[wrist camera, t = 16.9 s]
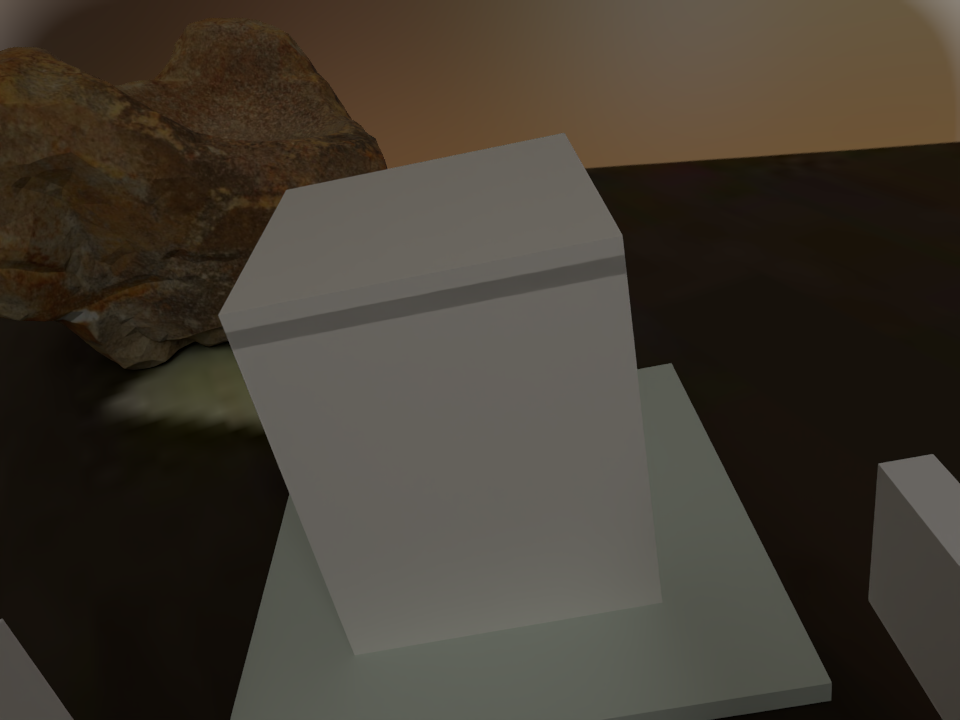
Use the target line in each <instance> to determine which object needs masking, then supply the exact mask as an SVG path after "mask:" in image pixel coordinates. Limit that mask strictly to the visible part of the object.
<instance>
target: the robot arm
mask: <svg viewBox="0 0 960 720" xmlns="http://www.w3.org/2000/svg"><path fill="white" fill-rule="evenodd" d="M868 600H869V602H870V604H871V605H872V607H873V608H874V610H875V612H876V613H877V615H878V616H879V618H880V620H881V621H882V623H883V624H884V626H885V628H886V629H887V631H888V633H889V634H890V636H891V637H892V639H893V641H894V642H895V644H896V645H897V647H898V649H899V650H900V652H901V653H902V655H903V657H904V658H905V660H906V662H907V663H908V665H909V666H910V668H911V670H912V671H913V673H914V674H915V676H916V678H917V679H918V681H919V682H920V684H921V686H922V687H923V689H924V690H925V692H926V694H927V695H928V697H929V699H930V700H931V702H932V703H933V705H934V707H935V708H936V710H937V711H938V713H939V715H940V716H941V718H942V719H943V720H960V483H959V482H958V481H957V480H956V479H955V478H954V477H953V476H952V475H951V474H950V472H949V471H948V470H947V469H946V468H945V467H944V466H943V465H942V464H941V463H940V461H939V460H938V459H937V458H936V457H935V456H934V455H933V454H931V455H925V456H920V457H914V458H908V459H903V460H897V461H891V462H886V463H880V464H878V475H877V488H876V502H875V516H874V529H873V543H872V557H871V570H870V584H869V598H868ZM0 720H73V718H72V717H71V715H70V714H69V713H68V711H67V710H66V708H65V707H64V706H63V704H62V703H61V701H60V700H59V698H58V697H57V696H56V694H55V693H54V691H53V690H52V688H51V687H50V686H49V684H48V683H47V681H46V680H45V678H44V677H43V676H42V674H41V673H40V671H39V670H38V669H37V667H36V666H35V664H34V663H33V661H32V660H31V659H30V657H29V656H28V654H27V653H26V651H25V650H24V649H23V647H22V646H21V644H20V643H19V641H18V640H17V639H16V637H15V636H14V634H13V633H12V632H11V630H10V629H9V627H8V626H7V624H6V623H5V622H4V620H3V619H0Z"/></svg>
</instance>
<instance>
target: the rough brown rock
mask: <svg viewBox="0 0 960 720" xmlns="http://www.w3.org/2000/svg"><path fill="white" fill-rule="evenodd" d="M386 169H387V166H386V163H385V159H384V157H383V154H382V152H381V150H380V148H379V146H378V144H377V141H376V139H375V138H374V137H372V136H370V135H369V134H368V133H366V132H365V130H364V129H363V128H362V126H361V125H359V124H358V123H357V122H355V121H354V120H352V119H351V117H350V116H349V115H348V113H347V111H346V110H345V108H344V106H343V105H342V103H341V102H340V100H339V99H338V98H337V96H336V95H335V93H334V91H333V90H332V88H331V87H330V85H329V84H328V82H327V81H326V80H325V79H324V78H323V77H322V76H321V75H319V74H318V73H317V71H316V69H315V68H314V66H313V65H312V63H311V62H310V60H309V58H308V57H307V56H306V55H305V54H304V52H303V51H302V50H301V49H300V48H299V46H298V45H297V43H296V42H295V41H294V40H293V39H292V38H291V36H290V35H289V34H287V33H285V32H284V31H282V30H281V29H279V28H277V27H274V26H272V25H269V24H266V23H263V22H260V21H257V20H253V19H246V18H208V19H205V20H201V21H198V22H194V23H191V24H189V25H188V26H187V28H186V29H185V30H184V32H183V34H182V35H181V37H180V38H179V39H178V40H177V42H176V43H175V46H174V50H173V53H172V57H171V59H170V60H169V62H168V63H167V65H166V66H165V68H164V69H163V70H162V72H161V73H160V74H159V75H158V76H157V77H156V78H155V79H154V80H144V81H135V82H130V83H127V84H124V85H121V86H113V85H112V84H110V83H109V82H107V81H104V80H102V79H100V78H97V77H95V76H93V75H90V74H88V73H86V72H83V71H81V70H80V69H78V68H75V67H73V66H70V65H69V64H66V63H64V62H62V61H61V60H60V59H59V58H57V57H56V56H54V55H53V54H52V53H50V52H49V51H47V50H45V49H42V48H31V47H13V48H8V49H5V50H2V51H0V317H1V318H7V319H13V320H18V321H52V320H54V321H57V322H60V323H62V324H63V325H64V326H66V327H67V328H68V329H70V330H71V331H73V332H74V333H75V334H76V335H78V336H79V337H80V338H81V339H83V340H84V341H85V342H86V343H88V344H89V345H90V346H91V347H93V348H94V349H95V350H96V351H98V352H99V353H101V354H102V355H104V356H105V357H107V358H109V359H110V360H112V361H114V362H116V363H118V364H119V365H121V366H122V367H123V368H124V369H129V370H137V369H145V368H150V367H154V366H157V365H159V364H161V363H164V362H166V361H167V360H168V359H169V358H170V357H171V356H172V355H173V354H174V353H175V352H176V351H177V350H179V349H180V348H182V347H184V346H186V345H188V344H190V343H192V342H195V341H196V342H198V343H200V344H202V345H205V346H208V347H210V346H214V345H218V344H220V343H222V342H226V341H228V339H227V336H226V334H225V331H224V329H223V326H222V324H221V321H220V319H219V316H218V315H219V313H220V311H221V309H222V307H223V305H224V303H225V302H226V300H227V298H228V296H229V294H230V292H231V291H232V289H233V287H234V285H235V283H236V281H237V280H238V278H239V276H240V274H241V272H242V270H243V269H244V267H245V265H246V263H247V261H248V259H249V258H250V256H251V254H252V252H253V250H254V248H255V246H256V245H257V243H258V241H259V239H260V237H261V235H262V234H263V232H264V230H265V228H266V226H267V224H268V223H269V221H270V219H271V217H272V215H273V213H274V212H275V210H276V208H277V206H278V204H279V202H280V201H281V199H282V197H283V195H284V193H285V191H286V190H289V189H294V188H298V187H303V186H308V185H313V184H318V183H323V182H328V181H333V180H337V179H342V178H347V177H352V176H357V175H362V174H367V173H371V172H376V171H381V170H386Z"/></svg>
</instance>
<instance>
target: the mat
mask: <svg viewBox="0 0 960 720" xmlns="http://www.w3.org/2000/svg"><path fill="white" fill-rule="evenodd" d="M637 374H638V383H639V392H640V401H641V410H642V420H643V429H644V438H645V447H646V456H647V465H648V475H649V484H650V493H651V502H652V511H653V520H654V530H655V539H656V548H657V557H658V566H659V575H660V585H661V594H662V603H657V604H651V605H645V606H639V607H634V608H628V609H622V610H616V611H610V612H604V613H599V614H593V615H587V616H581V617H575V618H569V619H564V620H558V621H552V622H546V623H540V624H534V625H528V626H523V627H517V628H511V629H505V630H499V631H493V632H488V633H482V634H476V635H470V636H464V637H458V638H453V639H447V640H441V641H435V642H429V643H423V644H418V645H412V646H406V647H400V648H394V649H388V650H382V651H377V652H371V653H365V654H359V655H354V653H353V650H352V648H351V645H350V643H349V640H348V638H347V636H346V633H345V631H344V628H343V626H342V623H341V621H340V618H339V616H338V613H337V611H336V608H335V606H334V603H333V601H332V598H331V596H330V593H329V591H328V588H327V586H326V583H325V581H324V578H323V576H322V573H321V571H320V568H319V566H318V563H317V561H316V558H315V556H314V553H313V551H312V548H311V546H310V543H309V541H308V538H307V536H306V533H305V531H304V528H303V526H302V523H301V521H300V518H299V516H298V513H297V511H296V508H295V506H294V503H293V501H292V498H291V496H290V494H289V498H288V502H287V505H286V509H285V513H284V517H283V521H282V524H281V528H280V532H279V536H278V540H277V543H276V547H275V551H274V555H273V559H272V562H271V566H270V570H269V574H268V578H267V582H266V585H265V589H264V593H263V597H262V601H261V604H260V608H259V612H258V616H257V620H256V623H255V627H254V631H253V635H252V639H251V643H250V646H249V650H248V654H247V658H246V662H245V665H244V669H243V673H242V677H241V681H240V684H239V688H238V692H237V696H236V700H235V703H234V707H233V711H232V715H231V719H230V720H711V719H718V718H724V717H730V716H737V715H743V714H749V713H756V712H762V711H768V710H775V709H781V708H787V707H794V706H800V705H806V704H813V703H819V702H825V701H831V692H832V682H831V680H830V678H829V676H828V674H827V672H826V670H825V668H824V666H823V664H822V662H821V660H820V658H819V656H818V654H817V652H816V650H815V648H814V646H813V644H812V642H811V640H810V638H809V636H808V634H807V632H806V630H805V628H804V626H803V624H802V623H801V621H800V619H799V617H798V615H797V613H796V611H795V609H794V607H793V605H792V603H791V601H790V599H789V597H788V595H787V593H786V591H785V589H784V587H783V585H782V583H781V581H780V579H779V577H778V575H777V573H776V571H775V569H774V567H773V565H772V563H771V561H770V559H769V557H768V555H767V553H766V551H765V549H764V547H763V545H762V543H761V541H760V539H759V537H758V535H757V533H756V531H755V529H754V527H753V525H752V523H751V521H750V519H749V517H748V515H747V513H746V511H745V509H744V507H743V505H742V503H741V501H740V499H739V497H738V495H737V493H736V491H735V489H734V487H733V485H732V483H731V481H730V479H729V477H728V475H727V473H726V471H725V469H724V467H723V465H722V463H721V461H720V459H719V457H718V455H717V453H716V451H715V449H714V447H713V445H712V443H711V441H710V439H709V437H708V435H707V433H706V431H705V429H704V427H703V425H702V423H701V421H700V419H699V417H698V415H697V413H696V411H695V409H694V407H693V405H692V404H691V402H690V400H689V398H688V396H687V394H686V392H685V390H684V388H683V386H682V384H681V382H680V380H679V378H678V376H677V374H676V372H675V370H674V368H673V366H672V364H671V363H670V364H665V365H659V366H654V367H649V368H643V369H638V370H637Z"/></svg>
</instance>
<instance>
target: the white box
mask: <svg viewBox="0 0 960 720" xmlns="http://www.w3.org/2000/svg"><path fill="white" fill-rule="evenodd" d="M218 316H219V319H220V321H221V324H222V326H223V329H224V331H225V334H226V336H227V339H228V341H229V344H230V346H231V348H232V351H233V353H234V356H235V358H236V361H237V363H238V366H239V368H240V371H241V373H242V376H243V378H244V381H245V383H246V386H247V388H248V391H249V393H250V396H251V398H252V401H253V403H254V406H255V408H256V411H257V413H258V416H259V418H260V421H261V423H262V426H263V428H264V431H265V433H266V436H267V438H268V441H269V443H270V446H271V448H272V451H273V453H274V456H275V458H276V461H277V463H278V466H279V468H280V471H281V473H282V476H283V478H284V481H285V483H286V486H287V488H288V491H289V493H290V496H291V498H292V501H293V503H294V506H295V508H296V511H297V513H298V516H299V518H300V521H301V523H302V526H303V528H304V531H305V533H306V536H307V538H308V541H309V543H310V546H311V548H312V551H313V553H314V556H315V558H316V561H317V563H318V566H319V568H320V571H321V573H322V576H323V578H324V581H325V583H326V586H327V588H328V591H329V593H330V596H331V598H332V601H333V603H334V606H335V608H336V611H337V613H338V616H339V618H340V621H341V623H342V626H343V628H344V631H345V633H346V636H347V638H348V640H349V643H350V645H351V648H352V650H353V653H354V655H359V654H365V653H371V652H377V651H382V650H388V649H394V648H400V647H406V646H412V645H418V644H423V643H429V642H435V641H441V640H447V639H453V638H458V637H464V636H470V635H476V634H482V633H488V632H493V631H499V630H505V629H511V628H517V627H523V626H528V625H534V624H540V623H546V622H552V621H558V620H564V619H569V618H575V617H581V616H587V615H593V614H599V613H604V612H610V611H616V610H622V609H628V608H634V607H639V606H645V605H651V604H657V603H662V594H661V585H660V575H659V566H658V557H657V548H656V539H655V530H654V520H653V511H652V502H651V493H650V484H649V475H648V465H647V456H646V447H645V438H644V429H643V420H642V410H641V401H640V392H639V383H638V374H637V364H636V355H635V346H634V337H633V328H632V319H631V309H630V300H629V291H628V282H627V273H626V264H625V254H624V245H623V236H622V234H621V232H620V230H619V228H618V227H617V225H616V223H615V221H614V220H613V218H612V216H611V214H610V213H609V211H608V209H607V207H606V205H605V204H604V202H603V200H602V198H601V197H600V195H599V193H598V191H597V190H596V188H595V186H594V184H593V182H592V181H591V179H590V177H589V175H588V174H587V172H586V170H585V168H584V167H583V165H582V163H581V161H580V159H579V158H578V156H577V154H576V152H575V151H574V149H573V147H572V145H571V144H570V142H569V140H568V138H567V137H566V135H565V133H562V134H557V135H552V136H547V137H542V138H537V139H533V140H528V141H523V142H518V143H513V144H508V145H503V146H498V147H493V148H488V149H484V150H479V151H474V152H469V153H464V154H460V155H454V156H449V157H445V158H440V159H435V160H430V161H425V162H420V163H415V164H411V165H406V166H401V167H396V168H392V169H386V170H381V171H376V172H371V173H367V174H362V175H357V176H352V177H347V178H342V179H337V180H333V181H328V182H323V183H318V184H313V185H308V186H303V187H298V188H294V189H289V190H286V191H285V193H284V195H283V197H282V199H281V201H280V202H279V204H278V206H277V208H276V210H275V212H274V213H273V215H272V217H271V219H270V221H269V223H268V224H267V226H266V228H265V230H264V232H263V234H262V235H261V237H260V239H259V241H258V243H257V245H256V246H255V248H254V250H253V252H252V254H251V256H250V258H249V259H248V261H247V263H246V265H245V267H244V269H243V270H242V272H241V274H240V276H239V278H238V280H237V281H236V283H235V285H234V287H233V289H232V291H231V292H230V294H229V296H228V298H227V300H226V302H225V303H224V305H223V307H222V309H221V311H220V313H219V315H218Z"/></svg>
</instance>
